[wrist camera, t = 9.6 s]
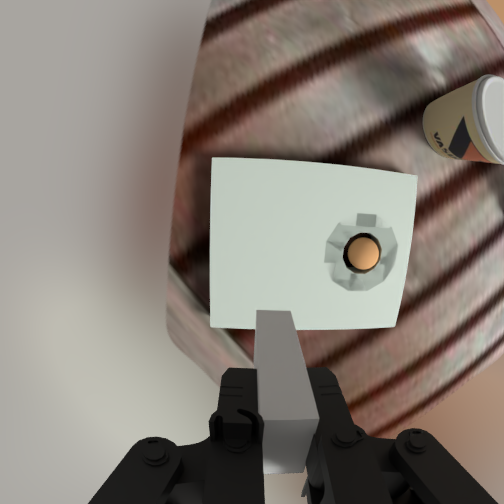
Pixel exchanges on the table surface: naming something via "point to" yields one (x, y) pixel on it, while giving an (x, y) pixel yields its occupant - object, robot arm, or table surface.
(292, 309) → the plate
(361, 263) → the ball
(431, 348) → the table surface
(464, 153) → the coffee cup
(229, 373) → the robot arm
